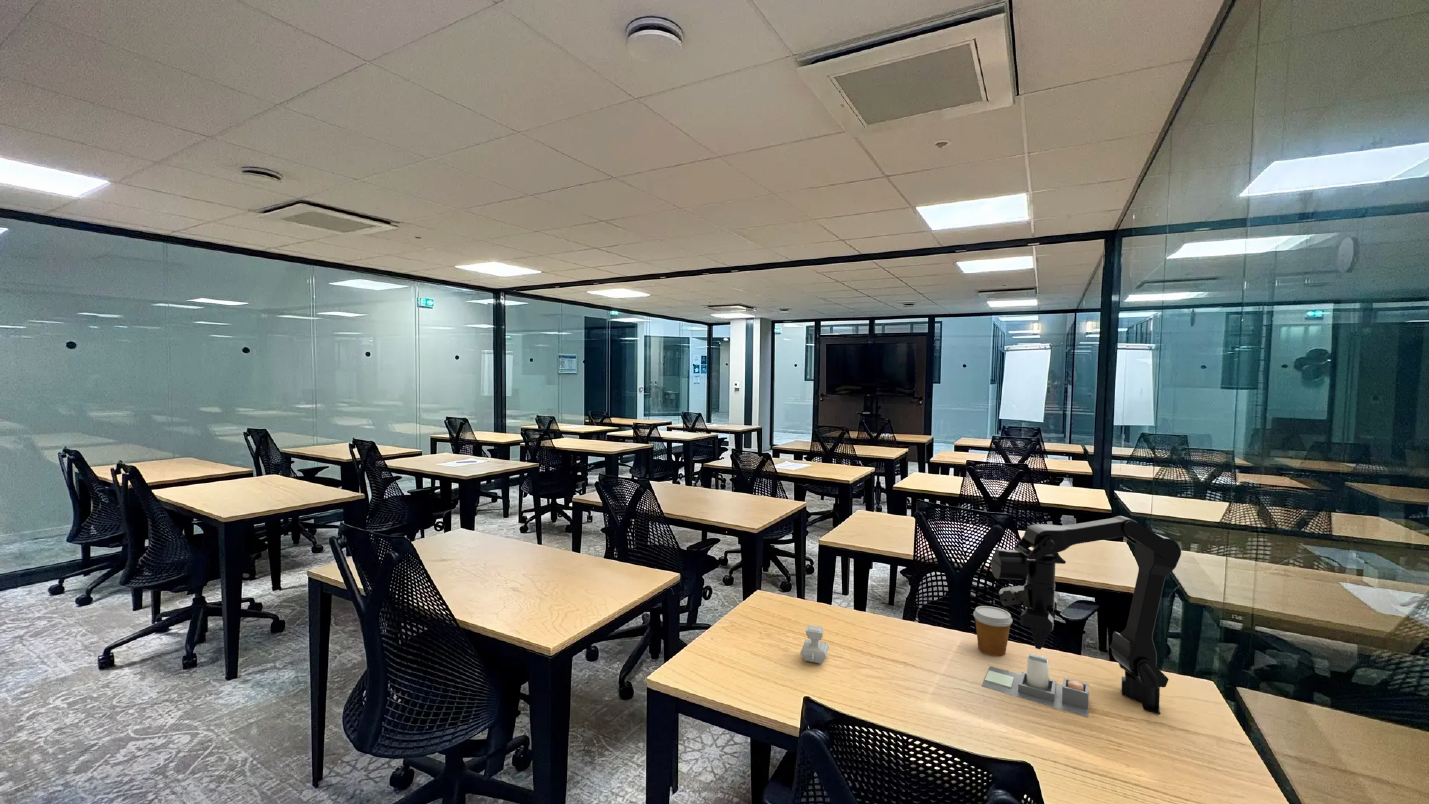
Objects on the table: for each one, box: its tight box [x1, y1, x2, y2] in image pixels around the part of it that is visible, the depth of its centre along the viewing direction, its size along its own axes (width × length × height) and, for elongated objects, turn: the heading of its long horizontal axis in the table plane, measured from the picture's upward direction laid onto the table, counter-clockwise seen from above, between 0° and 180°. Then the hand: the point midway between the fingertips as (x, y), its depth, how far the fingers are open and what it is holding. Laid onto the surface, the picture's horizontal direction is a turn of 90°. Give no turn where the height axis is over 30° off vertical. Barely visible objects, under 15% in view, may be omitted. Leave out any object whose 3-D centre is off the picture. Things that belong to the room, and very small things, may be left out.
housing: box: [981, 665, 1090, 718], centre depth 130 cm, size 21×12×5 cm, turn 55°
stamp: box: [800, 624, 830, 665], centre depth 146 cm, size 9×7×8 cm
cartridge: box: [1026, 653, 1050, 691], centre depth 130 cm, size 4×4×8 cm
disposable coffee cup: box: [972, 605, 1013, 657], centre depth 150 cm, size 10×10×12 cm
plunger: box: [1068, 680, 1084, 691], centre depth 125 cm, size 3×3×3 cm
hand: (1038, 646), depth 129 cm, fingers open, 3 cm apart
